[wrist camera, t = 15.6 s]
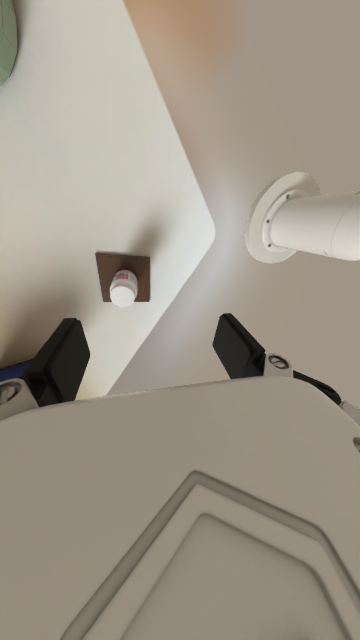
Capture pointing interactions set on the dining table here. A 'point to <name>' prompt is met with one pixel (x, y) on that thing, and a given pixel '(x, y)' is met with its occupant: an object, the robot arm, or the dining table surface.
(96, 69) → the dining table surface
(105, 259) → the coaster board
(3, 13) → the bowl
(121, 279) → the pill bottle
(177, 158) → the dining table surface
